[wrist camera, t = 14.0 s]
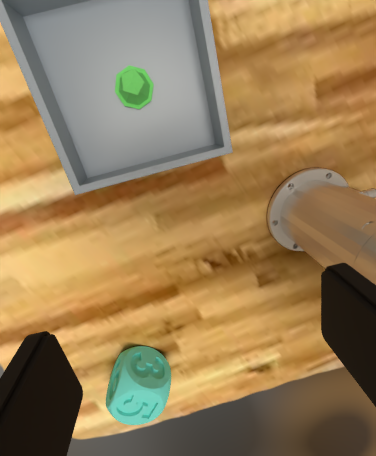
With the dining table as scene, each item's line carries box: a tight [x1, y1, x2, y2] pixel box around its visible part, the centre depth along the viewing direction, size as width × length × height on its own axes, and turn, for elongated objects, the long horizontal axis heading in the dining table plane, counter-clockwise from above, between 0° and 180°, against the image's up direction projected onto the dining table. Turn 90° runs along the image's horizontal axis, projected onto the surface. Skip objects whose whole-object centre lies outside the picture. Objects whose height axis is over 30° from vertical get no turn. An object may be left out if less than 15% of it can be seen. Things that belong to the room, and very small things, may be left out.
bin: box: [0, 0, 232, 195], centre depth 28 cm, size 18×18×5 cm
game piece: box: [115, 65, 154, 109], centre depth 27 cm, size 4×4×6 cm
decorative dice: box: [106, 346, 171, 425], centre depth 43 cm, size 8×8×8 cm
